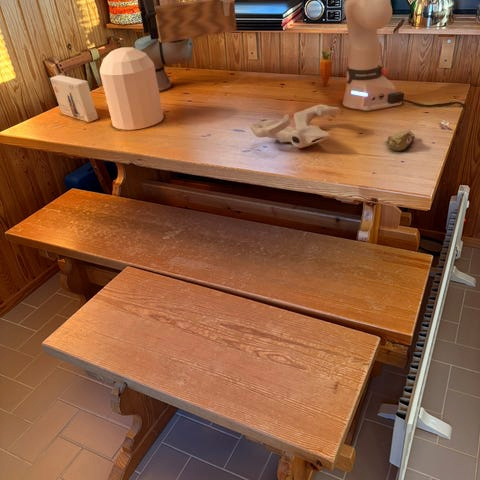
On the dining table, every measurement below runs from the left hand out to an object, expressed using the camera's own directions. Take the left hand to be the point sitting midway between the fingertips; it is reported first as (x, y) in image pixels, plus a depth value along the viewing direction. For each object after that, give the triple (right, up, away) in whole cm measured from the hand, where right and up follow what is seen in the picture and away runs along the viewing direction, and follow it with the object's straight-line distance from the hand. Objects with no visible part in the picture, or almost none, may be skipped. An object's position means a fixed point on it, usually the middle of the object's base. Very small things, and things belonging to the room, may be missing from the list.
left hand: (151, 35), depth 158 cm
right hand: (+24, +9, +4) cm, 26 cm away
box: (+15, +2, +5) cm, 16 cm away
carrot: (+68, -1, +48) cm, 83 cm away
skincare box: (-39, -17, +41) cm, 59 cm away
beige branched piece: (+51, -38, -3) cm, 64 cm away
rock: (+82, -40, -10) cm, 92 cm away
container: (-11, -21, +31) cm, 39 cm away
